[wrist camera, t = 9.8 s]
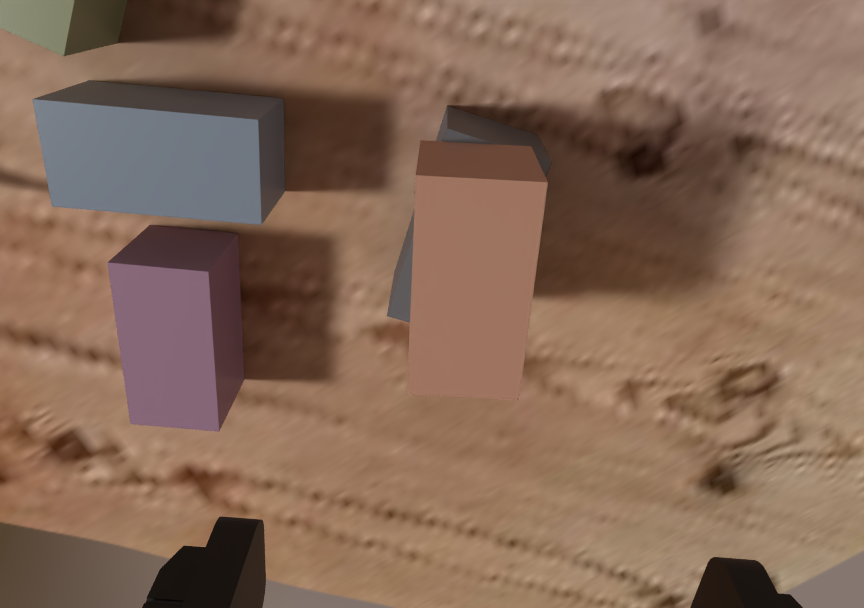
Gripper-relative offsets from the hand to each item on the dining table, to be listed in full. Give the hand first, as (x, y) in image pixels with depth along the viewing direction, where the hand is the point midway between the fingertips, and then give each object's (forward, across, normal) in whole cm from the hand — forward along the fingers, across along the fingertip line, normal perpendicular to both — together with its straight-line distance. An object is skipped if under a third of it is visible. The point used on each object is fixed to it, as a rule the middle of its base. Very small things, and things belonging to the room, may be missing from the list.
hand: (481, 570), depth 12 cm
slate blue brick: (+20, +12, -2) cm, 23 cm away
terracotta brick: (+16, 0, 0) cm, 16 cm away
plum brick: (+20, +12, +6) cm, 24 cm away
